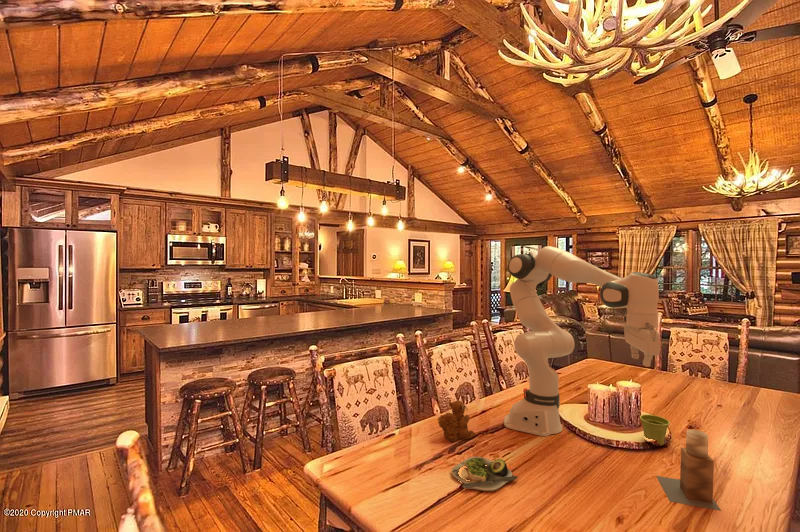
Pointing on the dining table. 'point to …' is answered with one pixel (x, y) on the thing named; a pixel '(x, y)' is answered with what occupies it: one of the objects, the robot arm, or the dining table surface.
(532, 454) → the dining table surface
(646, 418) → the plant pot
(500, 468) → the salad plate
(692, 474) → the tower top
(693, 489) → the tower base
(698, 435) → the birch round
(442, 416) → the stuffed squirrel
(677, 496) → the felt mat
